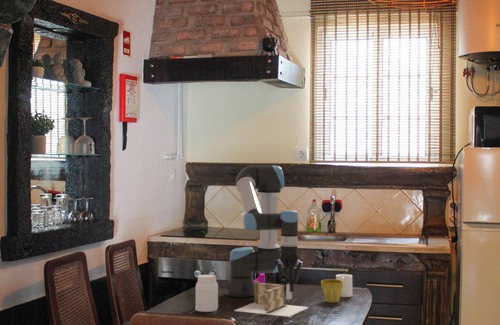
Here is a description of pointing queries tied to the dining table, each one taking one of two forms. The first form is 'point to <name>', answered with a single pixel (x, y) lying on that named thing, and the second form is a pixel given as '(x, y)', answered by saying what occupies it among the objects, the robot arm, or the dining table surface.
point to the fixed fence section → (262, 291)
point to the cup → (345, 284)
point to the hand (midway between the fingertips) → (289, 298)
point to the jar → (206, 293)
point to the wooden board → (275, 298)
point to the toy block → (260, 278)
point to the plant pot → (332, 289)
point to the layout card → (280, 311)
